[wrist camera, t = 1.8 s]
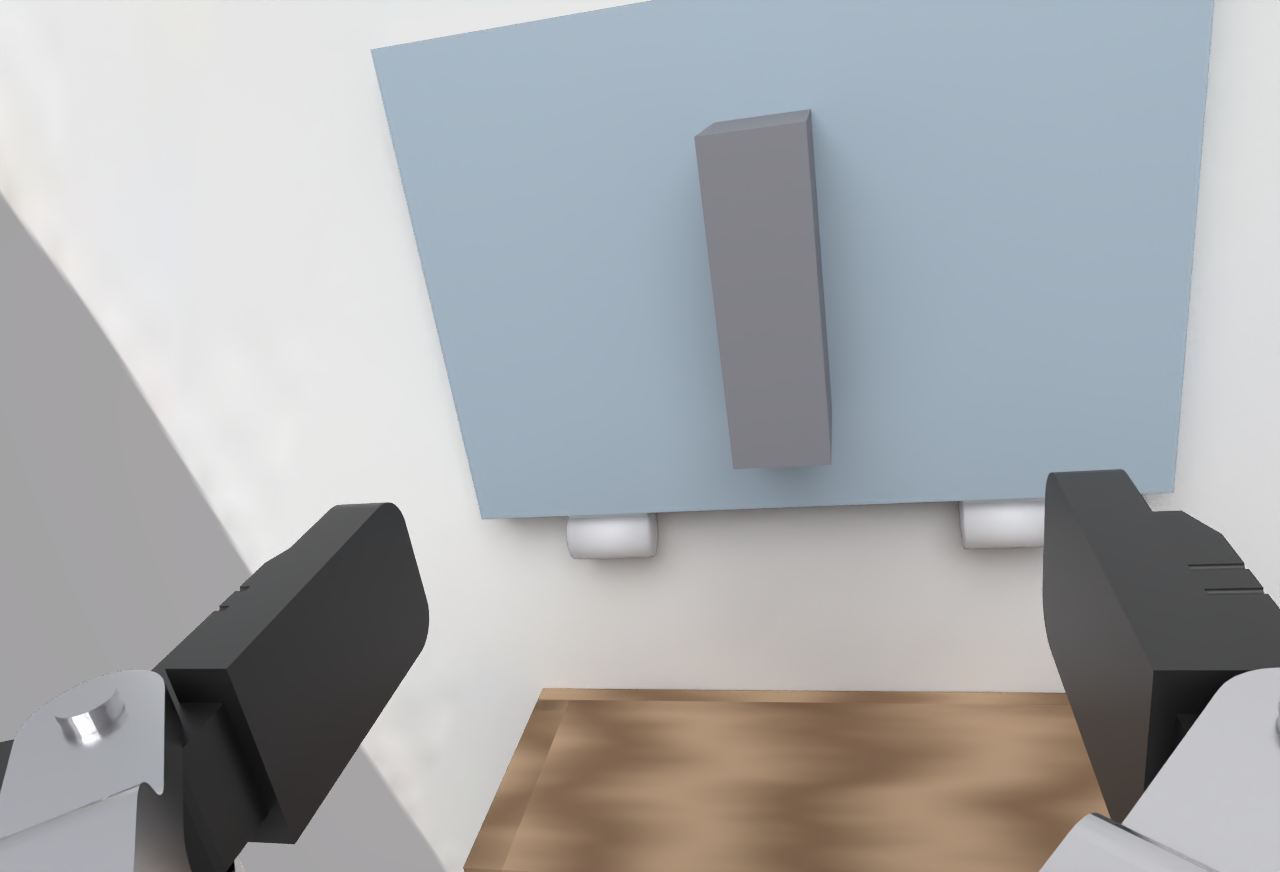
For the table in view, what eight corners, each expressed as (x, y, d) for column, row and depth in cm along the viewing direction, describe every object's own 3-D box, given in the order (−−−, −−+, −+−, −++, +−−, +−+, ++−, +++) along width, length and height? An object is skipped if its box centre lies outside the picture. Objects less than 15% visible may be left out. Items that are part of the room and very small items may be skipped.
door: (1196, -91, 21) (1300, -127, 16) (1150, 526, 27) (1217, 630, 22) (396, 48, 25) (297, 51, 21) (509, 545, 31) (452, 635, 27)
